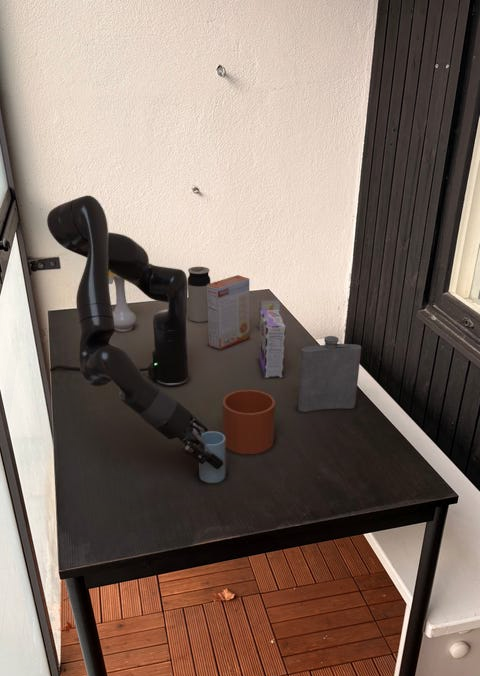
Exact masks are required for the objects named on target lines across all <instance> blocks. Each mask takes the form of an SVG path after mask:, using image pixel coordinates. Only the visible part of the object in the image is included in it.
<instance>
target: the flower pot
mask: <svg viewBox="0 0 480 676" xmlns="http://www.w3.org/2000/svg"><path fill="white" fill-rule="evenodd" d="M221 402H222V406H221V407H222V434H223V435H225V438H226V449H228V450H229V451H231V452H234V453H236V454H241V455H255V454H260V453H264V452H266V451H268V450H269V449H270V448H272V446H273V445H274V440H275V422H276V420H275V419H276V400H275V398H274V397H273V396H272V395H271V394H269V393H267V392H265V391H261V390H256V389H240V390H235V391H232V392H229V393H227V395H225V396H224V397H223V398H222V401H221Z"/></svg>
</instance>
